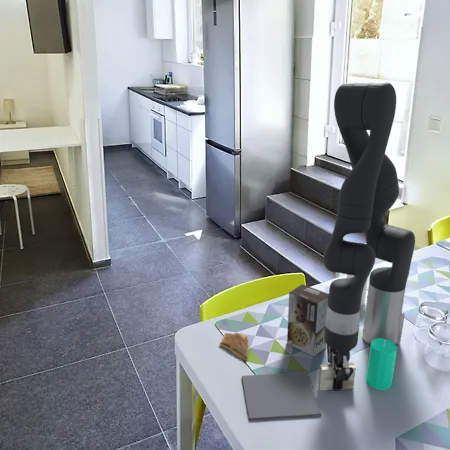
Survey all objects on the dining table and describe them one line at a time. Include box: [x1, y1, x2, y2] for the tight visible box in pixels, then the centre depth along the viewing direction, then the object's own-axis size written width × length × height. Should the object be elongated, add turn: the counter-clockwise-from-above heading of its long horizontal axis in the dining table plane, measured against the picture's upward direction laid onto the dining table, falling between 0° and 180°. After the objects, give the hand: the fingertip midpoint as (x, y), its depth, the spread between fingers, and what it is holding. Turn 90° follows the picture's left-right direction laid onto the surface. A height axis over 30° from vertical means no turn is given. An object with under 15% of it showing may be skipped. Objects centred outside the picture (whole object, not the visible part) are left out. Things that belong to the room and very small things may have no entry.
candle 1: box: [346, 274, 369, 306], centre depth 146 cm, size 6×6×15 cm
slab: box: [318, 362, 357, 391], centre depth 110 cm, size 8×2×6 cm, turn 95°
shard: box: [219, 332, 249, 361], centre depth 125 cm, size 11×8×2 cm
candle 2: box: [365, 338, 398, 391], centre depth 111 cm, size 6×6×12 cm
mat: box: [241, 371, 322, 421], centre depth 108 cm, size 16×14×1 cm
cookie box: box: [286, 283, 329, 357], centre depth 124 cm, size 9×6×16 cm
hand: (335, 385), depth 111 cm, fingers closed on slab, 1 cm apart
